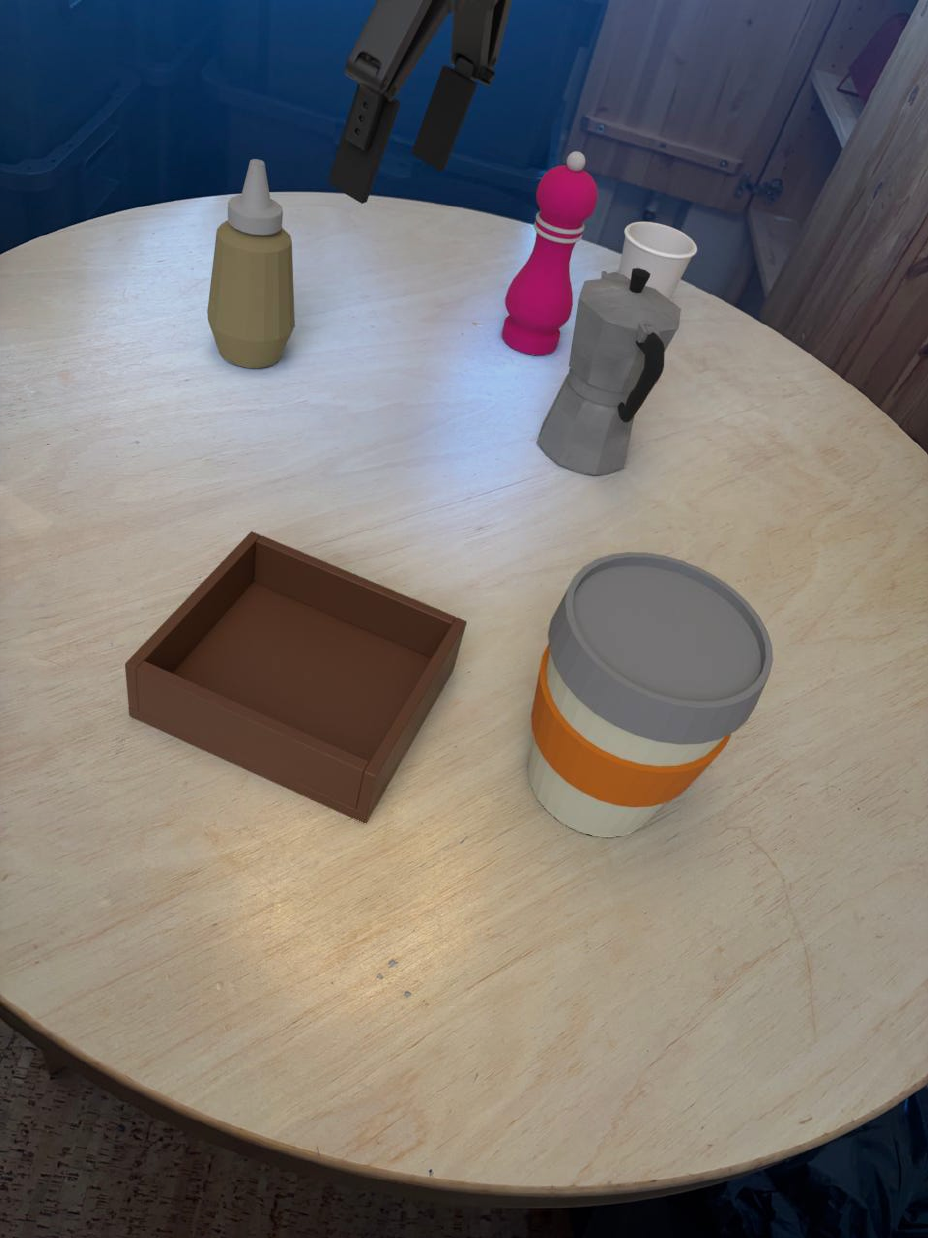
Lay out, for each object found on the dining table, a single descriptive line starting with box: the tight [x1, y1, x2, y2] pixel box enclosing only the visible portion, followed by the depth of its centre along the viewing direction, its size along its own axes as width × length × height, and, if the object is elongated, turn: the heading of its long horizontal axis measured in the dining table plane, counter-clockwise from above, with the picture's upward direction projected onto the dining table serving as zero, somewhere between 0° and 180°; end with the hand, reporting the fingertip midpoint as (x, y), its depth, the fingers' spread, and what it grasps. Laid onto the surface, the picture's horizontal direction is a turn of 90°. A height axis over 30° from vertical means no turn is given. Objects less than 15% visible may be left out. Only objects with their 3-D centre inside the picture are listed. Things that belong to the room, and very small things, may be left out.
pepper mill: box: [501, 151, 599, 356], centre depth 97 cm, size 7×7×20 cm
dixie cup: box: [618, 221, 698, 301], centre depth 109 cm, size 8×8×10 cm
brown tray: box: [124, 530, 467, 824], centre depth 62 cm, size 17×15×5 cm
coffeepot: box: [536, 268, 682, 476], centre depth 84 cm, size 15×9×18 cm, turn 10°
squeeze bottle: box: [206, 158, 296, 369], centre depth 86 cm, size 8×8×18 cm
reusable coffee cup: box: [527, 551, 774, 836], centre depth 58 cm, size 13×12×15 cm
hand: (390, 176), depth 68 cm, fingers open, 13 cm apart
